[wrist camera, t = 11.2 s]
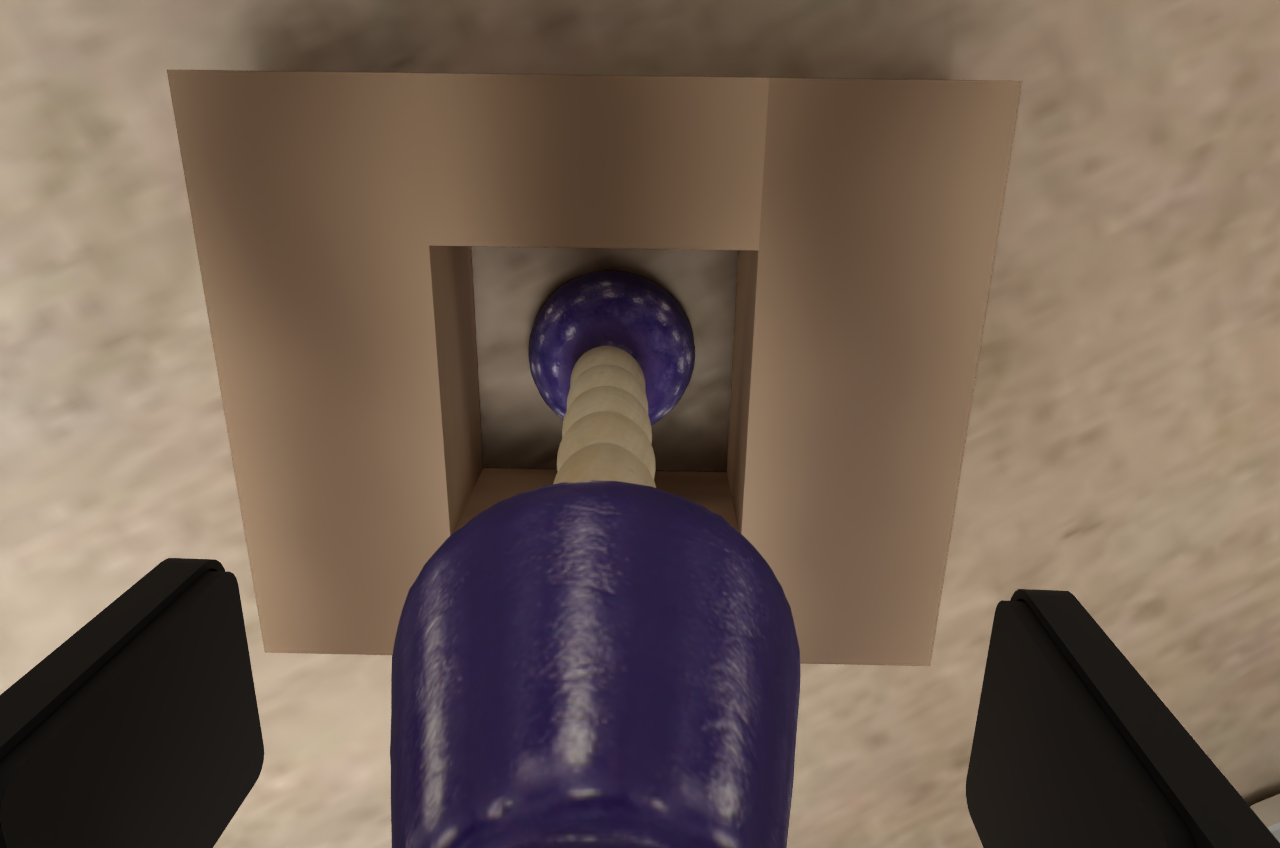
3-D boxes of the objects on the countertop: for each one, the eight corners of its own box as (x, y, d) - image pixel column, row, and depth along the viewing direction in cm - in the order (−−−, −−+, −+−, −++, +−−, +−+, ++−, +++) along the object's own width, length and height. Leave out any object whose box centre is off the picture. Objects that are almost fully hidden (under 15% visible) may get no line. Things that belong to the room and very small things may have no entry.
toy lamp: (699, 249, 21) (834, 662, 5) (731, 423, 23) (909, 1130, 7) (511, 288, 21) (136, 778, 6) (556, 457, 23) (354, 1194, 7)
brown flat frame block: (952, 85, 20) (1022, 81, 16) (887, 579, 24) (930, 665, 20) (259, 75, 20) (166, 70, 16) (324, 567, 24) (265, 652, 21)
